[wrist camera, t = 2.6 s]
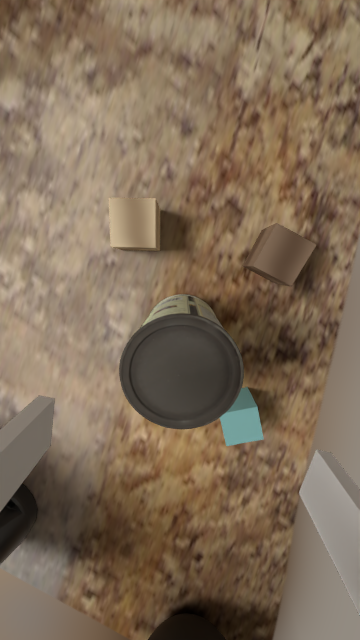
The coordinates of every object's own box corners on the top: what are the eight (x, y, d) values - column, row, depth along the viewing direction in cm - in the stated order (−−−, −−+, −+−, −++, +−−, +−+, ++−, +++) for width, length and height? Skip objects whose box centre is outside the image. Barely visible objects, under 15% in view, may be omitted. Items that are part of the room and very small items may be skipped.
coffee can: (183, 377, 34) (182, 451, 21) (131, 330, 33) (93, 376, 19) (234, 329, 32) (270, 375, 19) (181, 278, 31) (179, 286, 17)
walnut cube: (242, 266, 31) (253, 265, 26) (261, 230, 29) (277, 222, 25) (274, 283, 31) (291, 286, 26) (295, 248, 30) (316, 244, 25)
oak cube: (122, 250, 30) (110, 246, 26) (121, 209, 29) (108, 197, 24) (160, 250, 30) (155, 247, 25) (160, 209, 29) (155, 198, 24)
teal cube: (220, 421, 36) (226, 445, 31) (214, 393, 35) (219, 414, 30) (252, 415, 36) (263, 439, 31) (247, 386, 34) (257, 406, 30)
